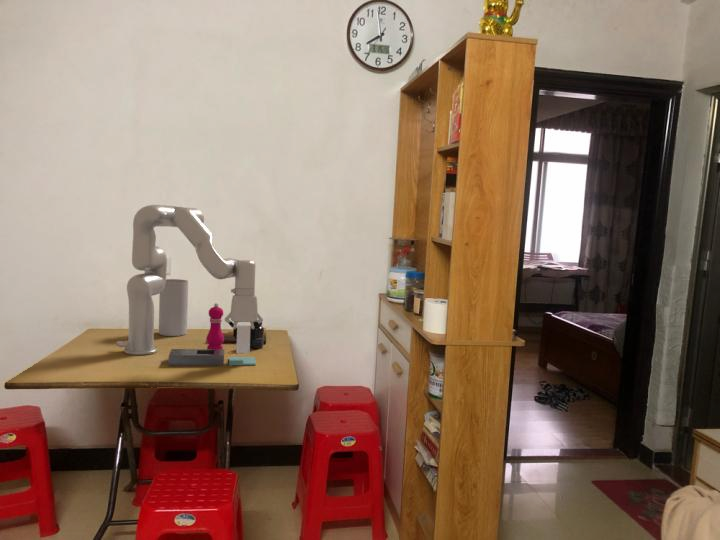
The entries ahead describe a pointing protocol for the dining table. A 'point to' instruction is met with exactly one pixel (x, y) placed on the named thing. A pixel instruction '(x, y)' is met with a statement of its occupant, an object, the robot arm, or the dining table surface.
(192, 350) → the rail
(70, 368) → the dining table surface
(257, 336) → the supplement bottle
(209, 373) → the dining table surface
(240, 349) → the steel peg
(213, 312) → the pepper mill
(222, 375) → the dining table surface
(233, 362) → the teal mat
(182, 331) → the cylinder vase
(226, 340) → the pan flute
